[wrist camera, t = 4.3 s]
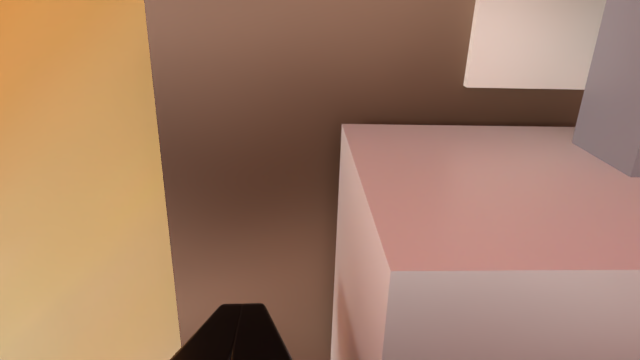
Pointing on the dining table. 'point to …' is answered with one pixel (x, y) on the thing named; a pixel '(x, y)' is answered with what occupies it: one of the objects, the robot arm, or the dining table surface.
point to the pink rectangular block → (497, 229)
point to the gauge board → (326, 124)
